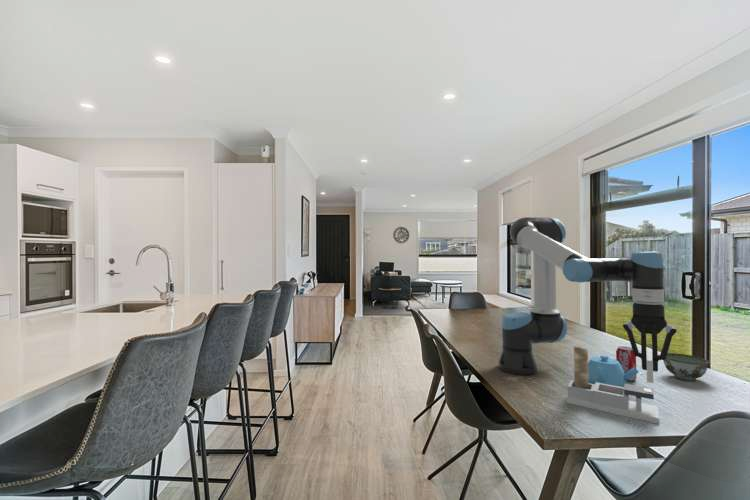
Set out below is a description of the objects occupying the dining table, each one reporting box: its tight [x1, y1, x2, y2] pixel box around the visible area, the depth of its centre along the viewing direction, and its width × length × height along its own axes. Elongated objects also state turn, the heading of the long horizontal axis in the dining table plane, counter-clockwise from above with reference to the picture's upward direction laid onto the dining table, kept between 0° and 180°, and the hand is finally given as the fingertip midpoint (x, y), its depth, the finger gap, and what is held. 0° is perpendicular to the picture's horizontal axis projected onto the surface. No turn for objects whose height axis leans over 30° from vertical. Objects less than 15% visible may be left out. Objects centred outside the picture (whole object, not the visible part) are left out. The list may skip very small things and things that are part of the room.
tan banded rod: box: [573, 345, 589, 390], centre depth 114 cm, size 4×4×16 cm
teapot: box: [588, 354, 640, 387], centre depth 125 cm, size 15×14×11 cm
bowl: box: [662, 352, 710, 382], centre depth 133 cm, size 14×13×8 cm
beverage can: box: [615, 345, 637, 382], centre depth 133 cm, size 6×6×12 cm
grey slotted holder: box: [566, 379, 660, 424], centre depth 109 cm, size 23×10×6 cm, turn 52°
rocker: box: [623, 383, 655, 400], centre depth 105 cm, size 7×6×2 cm
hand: (650, 381), depth 103 cm, fingers closed
